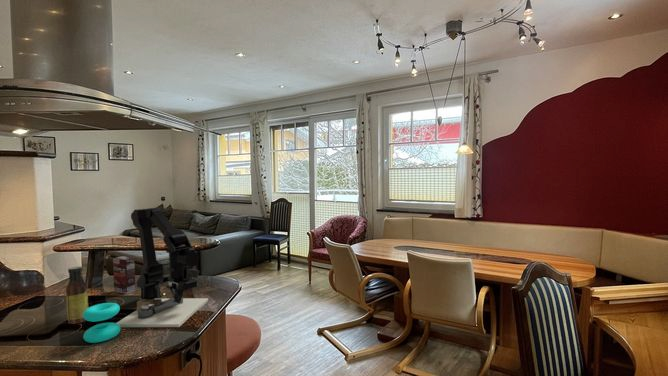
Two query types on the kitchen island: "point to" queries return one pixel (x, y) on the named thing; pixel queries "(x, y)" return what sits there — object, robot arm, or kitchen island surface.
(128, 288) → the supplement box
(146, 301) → the keeper
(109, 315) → the donuts
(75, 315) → the sauce bottle
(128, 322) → the base board
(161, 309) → the pivot link
